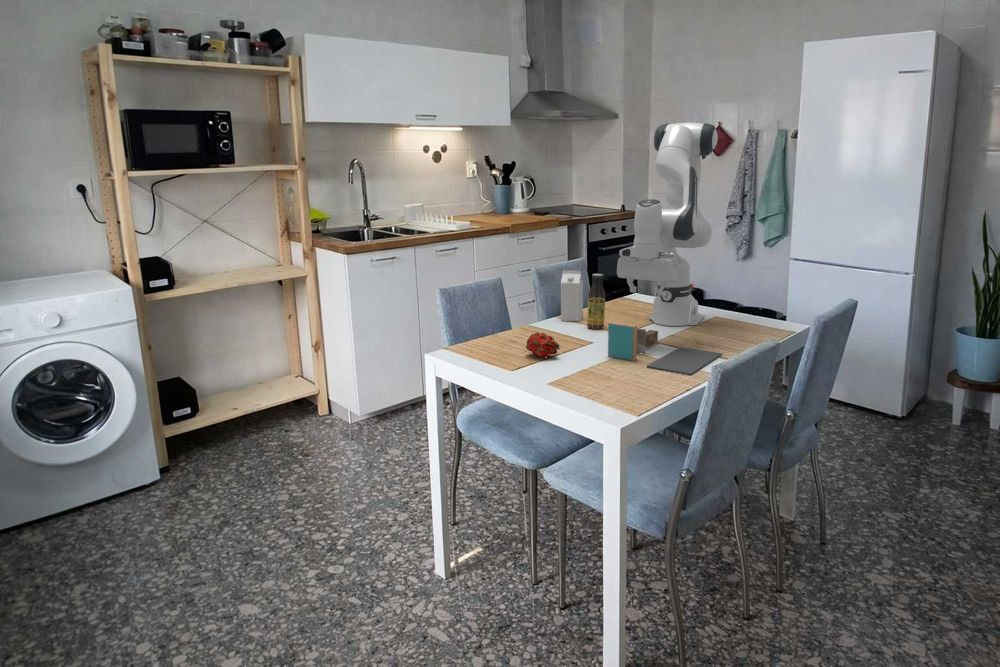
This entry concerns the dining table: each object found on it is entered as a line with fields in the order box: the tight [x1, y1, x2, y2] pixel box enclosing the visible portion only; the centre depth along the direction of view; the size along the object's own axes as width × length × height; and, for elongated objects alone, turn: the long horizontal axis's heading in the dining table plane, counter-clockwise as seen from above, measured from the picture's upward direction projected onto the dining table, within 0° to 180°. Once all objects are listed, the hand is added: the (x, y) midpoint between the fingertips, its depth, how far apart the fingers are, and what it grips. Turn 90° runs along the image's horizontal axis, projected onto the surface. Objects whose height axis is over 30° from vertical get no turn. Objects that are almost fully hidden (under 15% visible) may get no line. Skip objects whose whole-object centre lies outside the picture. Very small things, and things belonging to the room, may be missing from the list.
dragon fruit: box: [525, 331, 561, 359], centre depth 225 cm, size 8×8×12 cm
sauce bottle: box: [586, 273, 606, 330], centre depth 256 cm, size 7×6×20 cm
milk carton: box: [560, 270, 584, 322], centre depth 270 cm, size 7×7×19 cm
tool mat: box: [646, 346, 723, 376], centre depth 216 cm, size 24×14×1 cm, turn 142°
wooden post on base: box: [637, 327, 659, 355], centre depth 232 cm, size 15×8×8 cm, turn 142°
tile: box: [607, 321, 638, 362], centre depth 220 cm, size 2×9×11 cm, turn 52°
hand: (646, 293), depth 229 cm, fingers open, 8 cm apart
